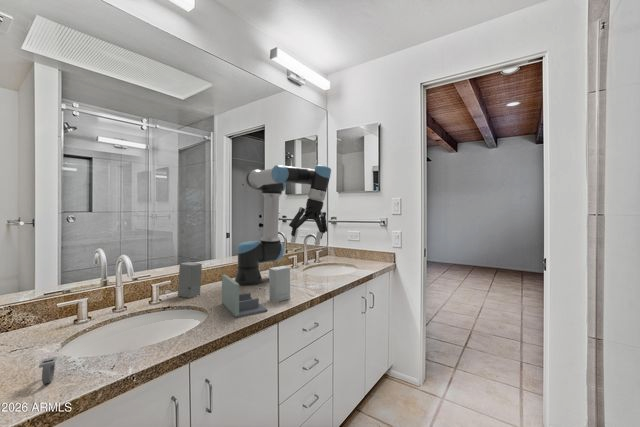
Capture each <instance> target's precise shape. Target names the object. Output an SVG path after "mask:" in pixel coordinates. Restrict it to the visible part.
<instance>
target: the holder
mask: <svg viewBox="0 0 640 427" xmlns="http://www.w3.org/2000/svg"><path fill="white" fill-rule="evenodd" d="M221 304H222V306H224V308H225V309H226V310H227V311H228V312H229V313H230V314H231V315H232V316H233V317H234V319H238V318H242V317H246V316H251V315H257V314H261V313H262V314H263V313H266V312H268V308H266V307H265V306H263V305H262V304H261V303H260V302H259V298H258V297H256V298H253V297H252V293H251V292H245V293H240V285H239V284H238V283H237V282H236V281H235V279H233V278H231V277H230V276H228V275H227V274H222V275H221Z"/></svg>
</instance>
